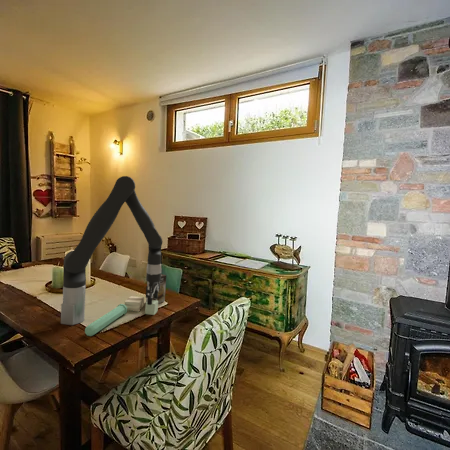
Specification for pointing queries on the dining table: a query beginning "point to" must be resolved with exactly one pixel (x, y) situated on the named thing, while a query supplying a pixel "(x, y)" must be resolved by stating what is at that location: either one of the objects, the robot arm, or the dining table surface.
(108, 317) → the container
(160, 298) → the coffee box
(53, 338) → the dining table surface
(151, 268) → the robot arm
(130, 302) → the birch base
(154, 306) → the sage block
